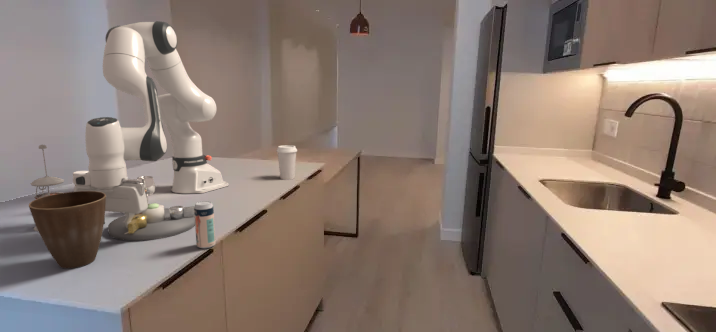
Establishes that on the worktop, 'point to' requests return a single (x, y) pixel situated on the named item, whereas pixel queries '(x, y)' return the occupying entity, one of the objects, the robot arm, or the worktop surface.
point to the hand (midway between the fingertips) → (114, 225)
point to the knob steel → (181, 212)
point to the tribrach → (152, 225)
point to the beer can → (204, 224)
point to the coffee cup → (287, 161)
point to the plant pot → (71, 225)
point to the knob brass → (137, 222)
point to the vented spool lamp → (45, 182)
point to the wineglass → (147, 185)
